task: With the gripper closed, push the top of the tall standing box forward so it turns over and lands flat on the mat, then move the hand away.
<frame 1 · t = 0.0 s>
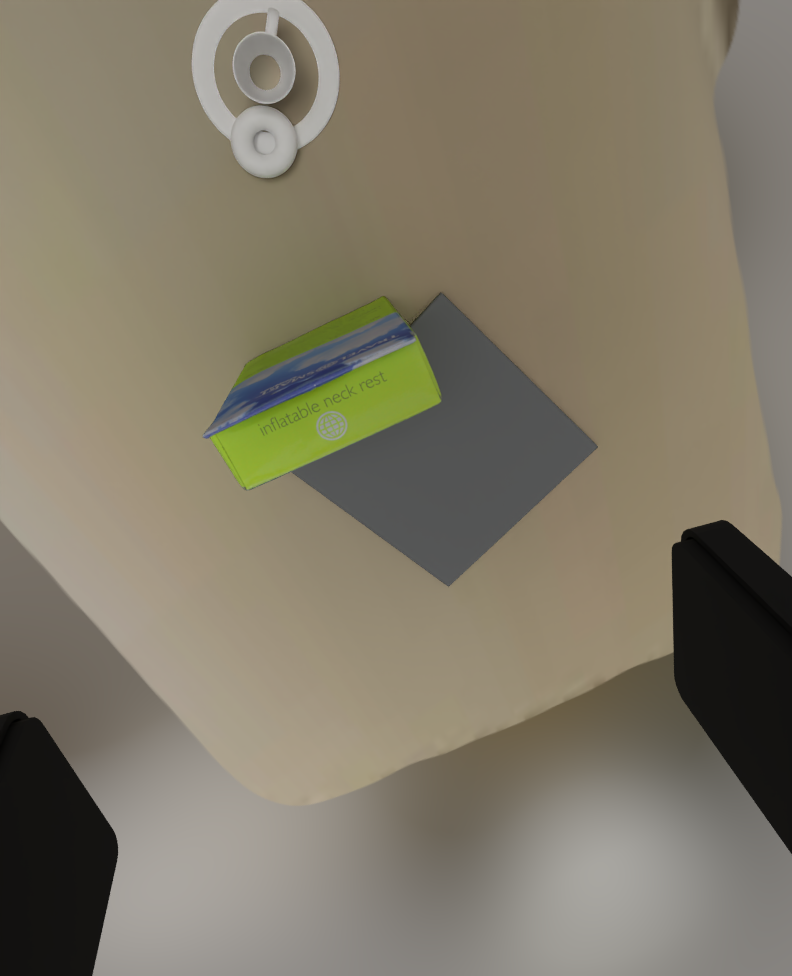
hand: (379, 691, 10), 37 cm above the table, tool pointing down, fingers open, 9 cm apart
box: (325, 353, 46), on the table
mat: (444, 454, 51), on the table
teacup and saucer: (216, 97, 39), on the table
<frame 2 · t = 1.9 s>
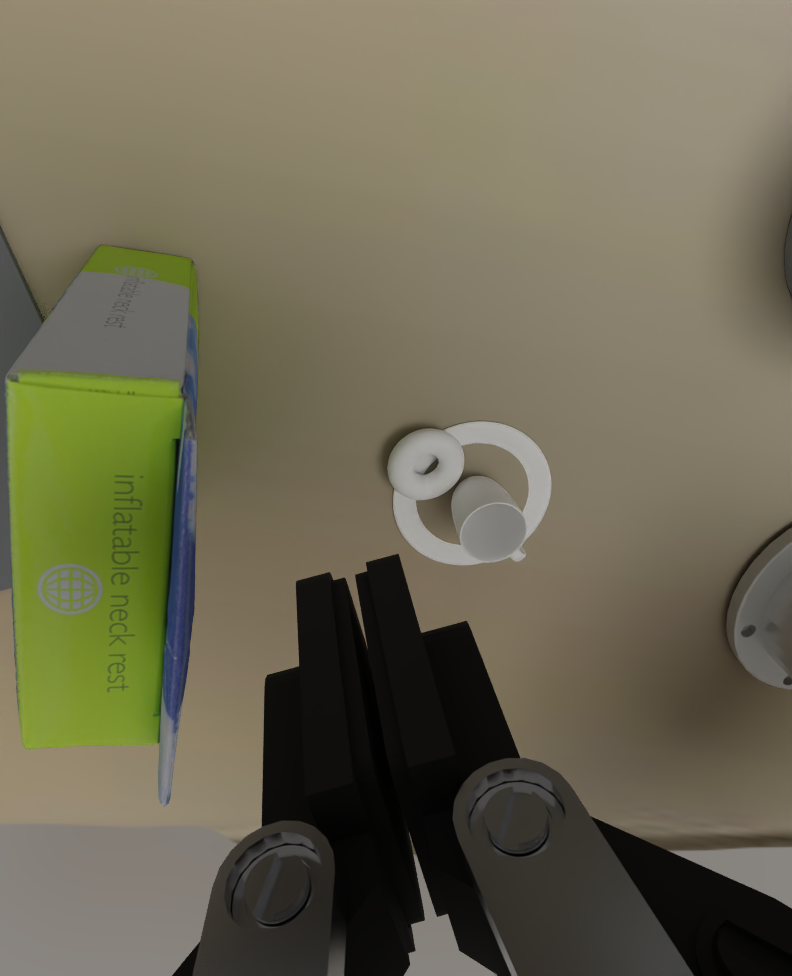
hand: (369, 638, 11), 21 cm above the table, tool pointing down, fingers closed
box: (147, 377, 29), on the table, touching mat
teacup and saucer: (487, 434, 33), on the table
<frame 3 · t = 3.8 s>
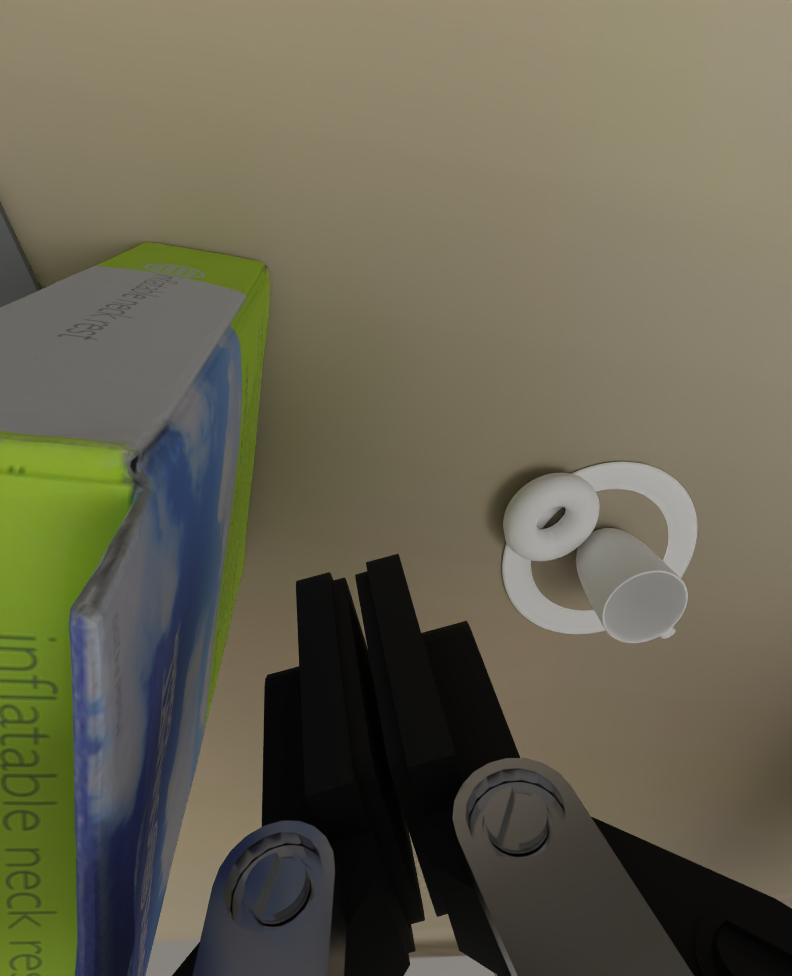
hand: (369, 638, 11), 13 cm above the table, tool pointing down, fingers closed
box: (203, 418, 22), on the table, touching mat
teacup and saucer: (621, 475, 27), on the table
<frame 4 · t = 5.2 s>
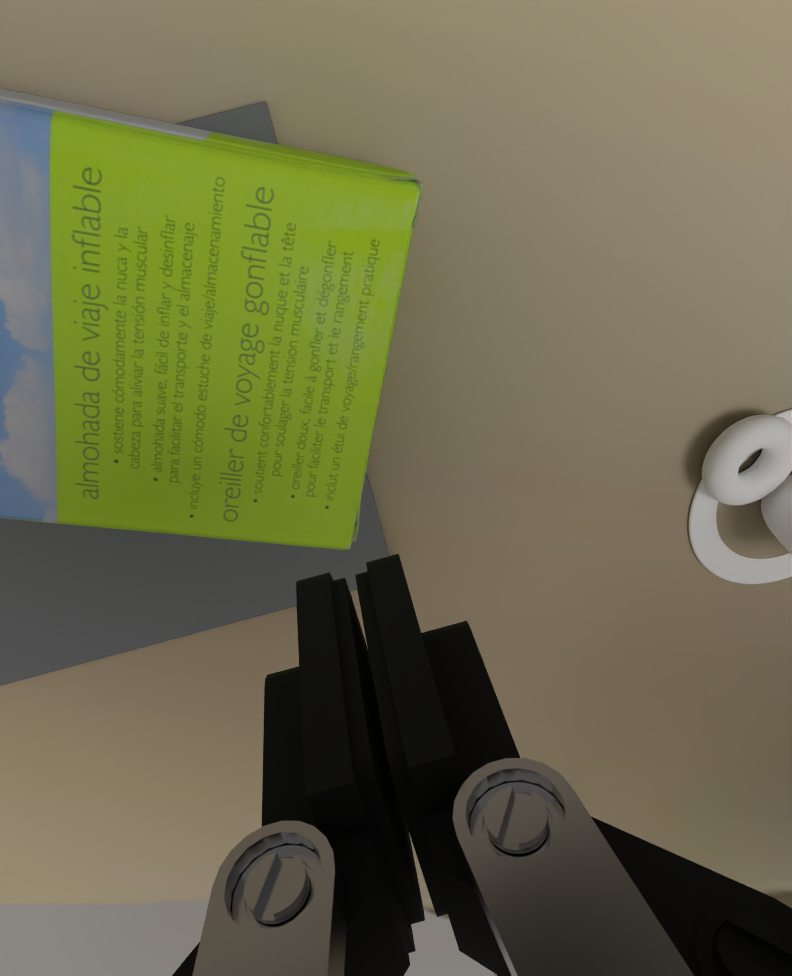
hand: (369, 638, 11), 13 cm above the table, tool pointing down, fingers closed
box: (386, 370, 20), point 2 cm above the table, touching mat
mat: (83, 446, 22), on the table
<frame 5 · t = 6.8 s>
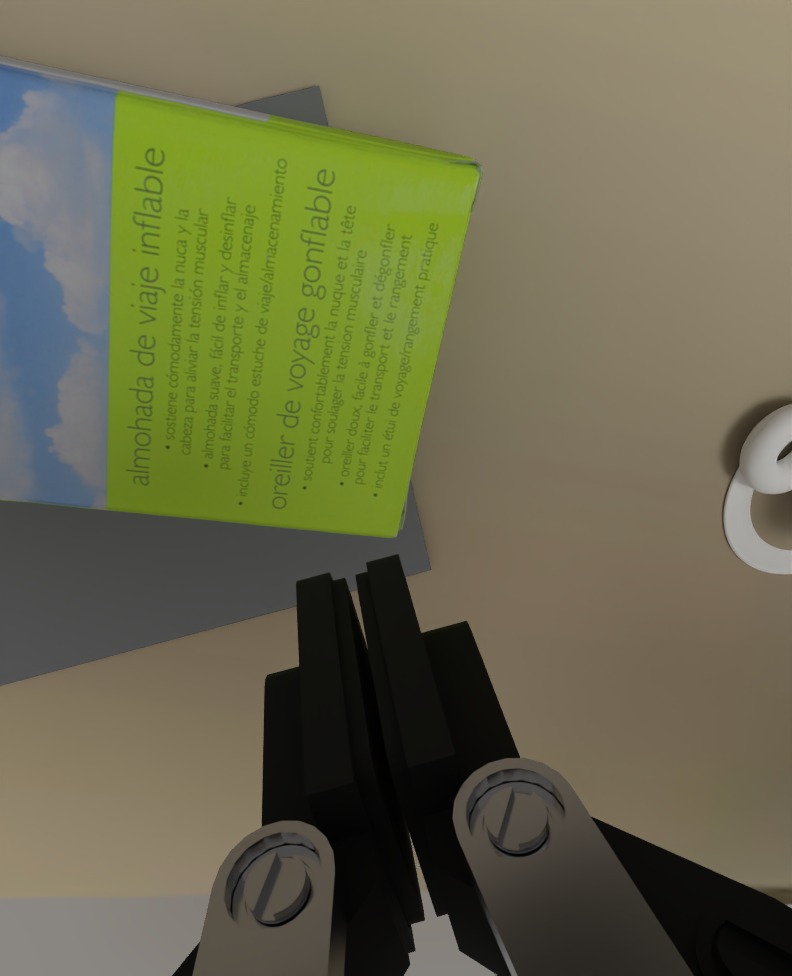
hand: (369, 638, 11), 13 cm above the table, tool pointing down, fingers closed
box: (434, 357, 20), point 2 cm above the table, touching mat
mat: (124, 434, 22), on the table
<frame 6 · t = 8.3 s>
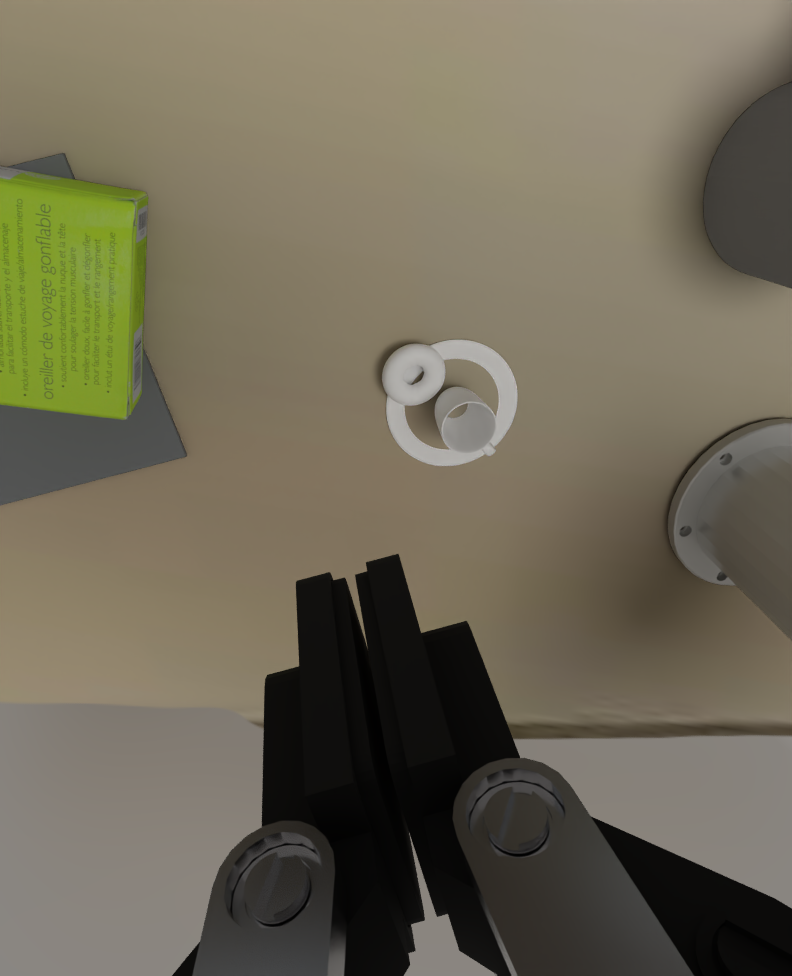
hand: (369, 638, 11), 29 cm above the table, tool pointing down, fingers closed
box: (144, 310, 34), point 2 cm above the table, touching mat
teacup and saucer: (464, 352, 40), on the table
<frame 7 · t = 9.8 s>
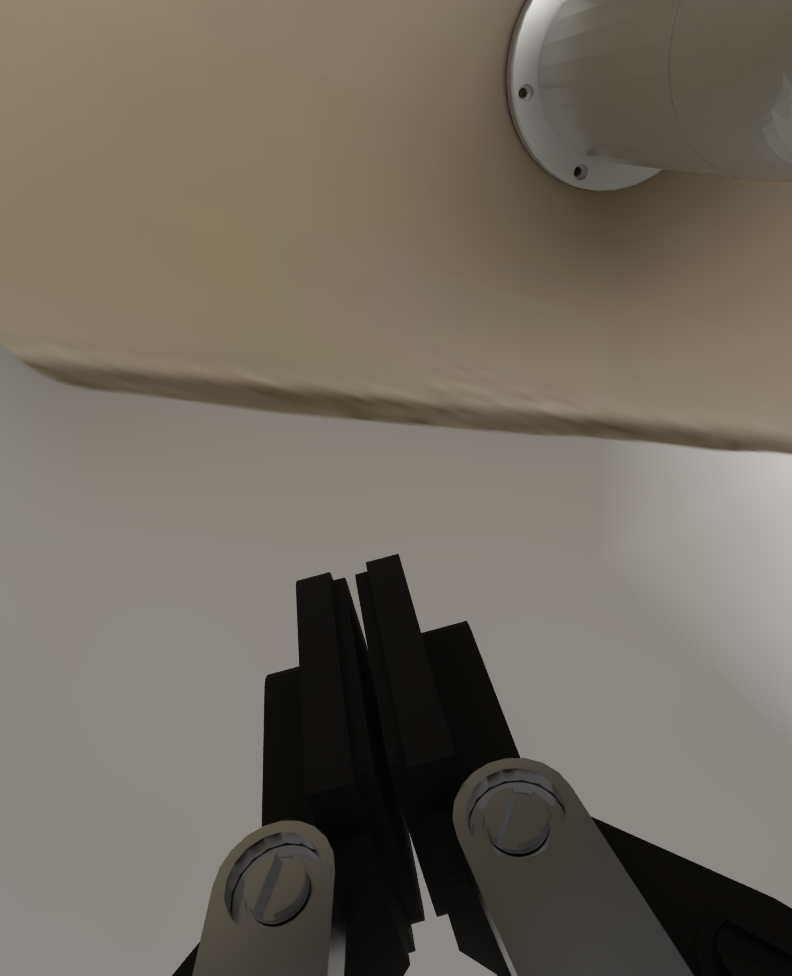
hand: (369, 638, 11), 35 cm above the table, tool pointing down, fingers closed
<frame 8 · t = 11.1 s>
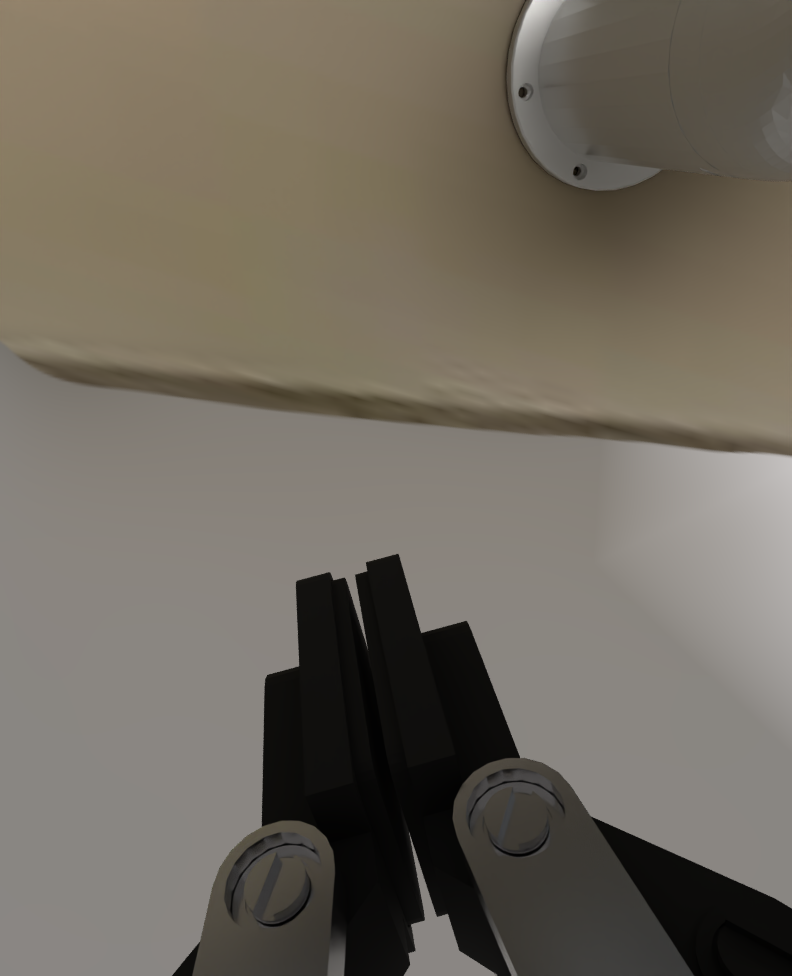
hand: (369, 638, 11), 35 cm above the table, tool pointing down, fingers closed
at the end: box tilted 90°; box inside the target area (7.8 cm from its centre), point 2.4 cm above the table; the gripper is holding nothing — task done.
